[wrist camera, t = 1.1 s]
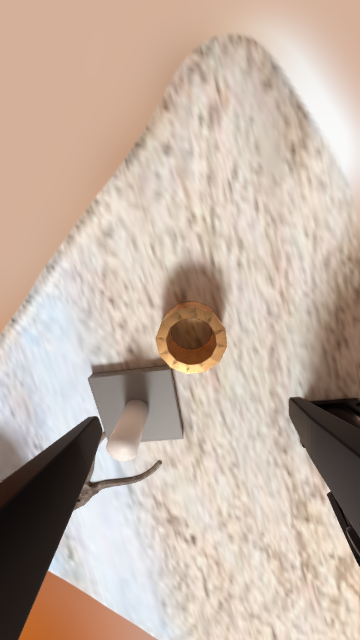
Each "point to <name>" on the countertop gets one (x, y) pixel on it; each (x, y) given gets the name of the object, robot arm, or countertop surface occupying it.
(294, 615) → the countertop surface
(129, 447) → the grey peg stand
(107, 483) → the pliers
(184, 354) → the ring
